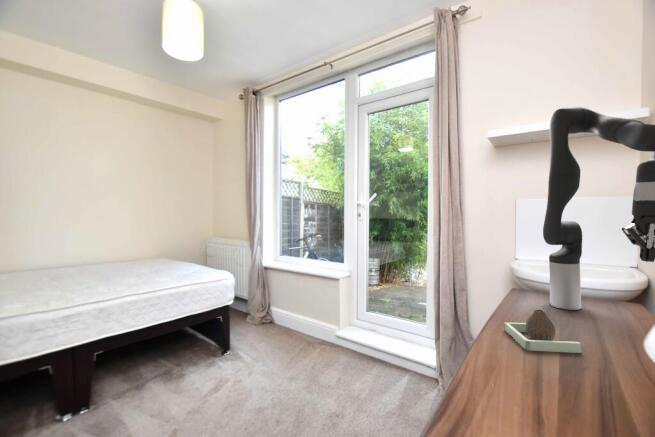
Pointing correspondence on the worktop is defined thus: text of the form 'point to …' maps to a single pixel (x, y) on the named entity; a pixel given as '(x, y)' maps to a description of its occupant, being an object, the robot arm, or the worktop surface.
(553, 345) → the bay
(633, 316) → the worktop surface
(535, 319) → the vase
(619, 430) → the worktop surface
